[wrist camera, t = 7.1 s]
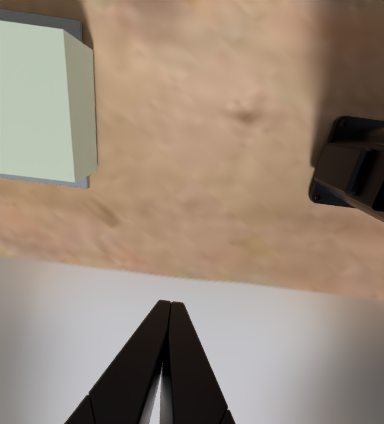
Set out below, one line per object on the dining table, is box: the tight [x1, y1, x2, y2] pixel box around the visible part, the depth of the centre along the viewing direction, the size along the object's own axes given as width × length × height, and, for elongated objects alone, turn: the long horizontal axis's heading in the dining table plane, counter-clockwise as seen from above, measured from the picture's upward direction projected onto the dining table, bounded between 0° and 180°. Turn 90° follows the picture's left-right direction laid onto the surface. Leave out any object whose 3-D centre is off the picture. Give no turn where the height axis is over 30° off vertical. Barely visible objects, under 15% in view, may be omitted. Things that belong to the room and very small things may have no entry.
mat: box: [0, 9, 89, 189], centre depth 16 cm, size 10×11×1 cm
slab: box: [0, 21, 97, 182], centre depth 14 cm, size 4×8×8 cm
